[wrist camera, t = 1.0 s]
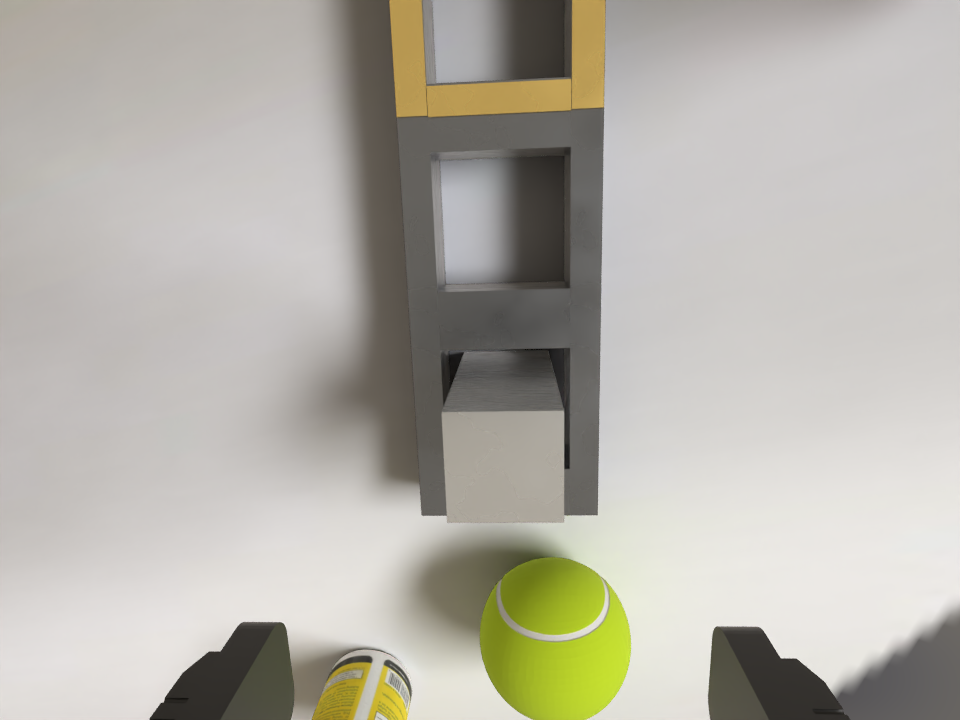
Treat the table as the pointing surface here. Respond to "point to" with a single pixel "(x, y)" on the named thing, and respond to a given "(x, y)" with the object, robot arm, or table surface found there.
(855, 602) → the table surface
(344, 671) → the supplement bottle
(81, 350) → the table surface
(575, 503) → the grey long flat frame
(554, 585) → the tennis ball
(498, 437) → the brushed metal square block
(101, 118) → the table surface
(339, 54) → the table surface
